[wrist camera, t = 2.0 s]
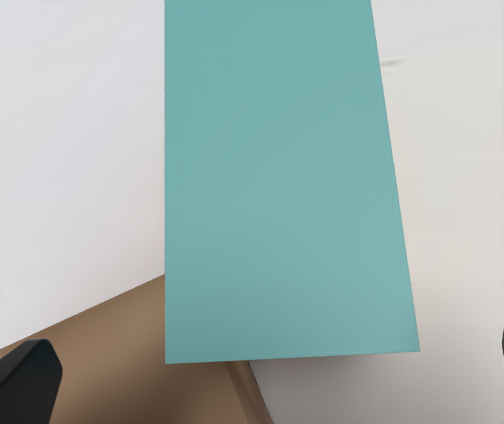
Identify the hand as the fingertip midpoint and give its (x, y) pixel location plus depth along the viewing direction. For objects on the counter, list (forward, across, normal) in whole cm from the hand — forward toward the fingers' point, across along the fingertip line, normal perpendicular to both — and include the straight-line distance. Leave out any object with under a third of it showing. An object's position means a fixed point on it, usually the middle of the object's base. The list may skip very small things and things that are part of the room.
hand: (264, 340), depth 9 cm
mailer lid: (+9, 0, +1) cm, 9 cm away
